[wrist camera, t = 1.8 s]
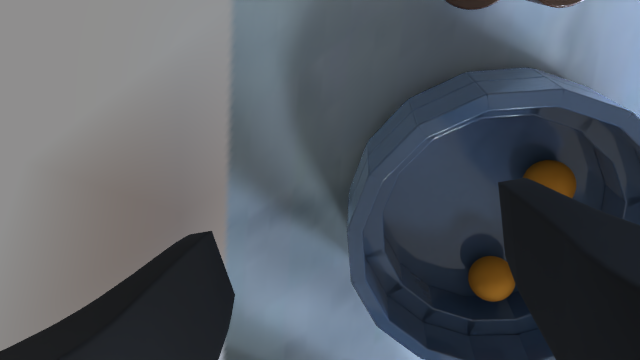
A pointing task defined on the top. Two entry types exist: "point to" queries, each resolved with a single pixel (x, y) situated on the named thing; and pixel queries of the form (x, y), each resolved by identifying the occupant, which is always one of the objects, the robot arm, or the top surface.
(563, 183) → the bead
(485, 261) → the bead
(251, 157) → the top surface
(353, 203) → the bowl
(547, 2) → the stick
